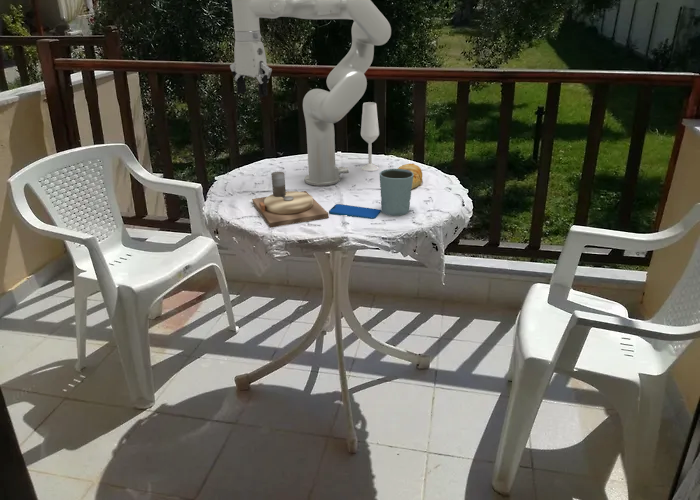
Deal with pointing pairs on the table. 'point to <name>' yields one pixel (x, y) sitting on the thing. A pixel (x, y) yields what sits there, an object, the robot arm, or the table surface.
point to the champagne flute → (369, 131)
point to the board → (286, 219)
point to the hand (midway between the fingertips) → (252, 94)
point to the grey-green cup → (395, 191)
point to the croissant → (416, 171)
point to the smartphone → (354, 211)
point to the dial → (286, 198)
